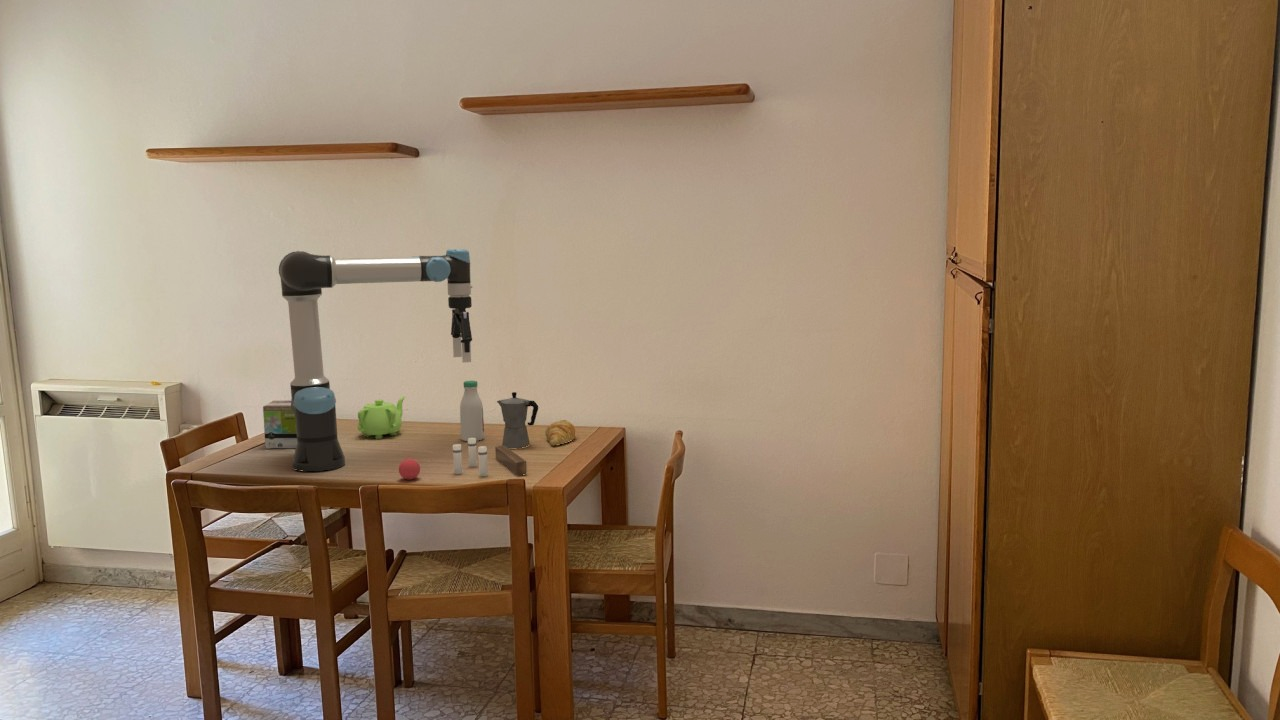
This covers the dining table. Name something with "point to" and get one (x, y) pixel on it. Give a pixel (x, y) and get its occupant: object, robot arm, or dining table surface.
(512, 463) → the brown long rectangular bar
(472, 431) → the milk bottle
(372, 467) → the dining table surface
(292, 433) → the tea box
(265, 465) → the dining table surface
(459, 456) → the front pin
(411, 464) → the ball
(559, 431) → the croissant
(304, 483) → the dining table surface
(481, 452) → the pin
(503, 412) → the coffeepot
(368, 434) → the green lumpy piece
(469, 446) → the pin
